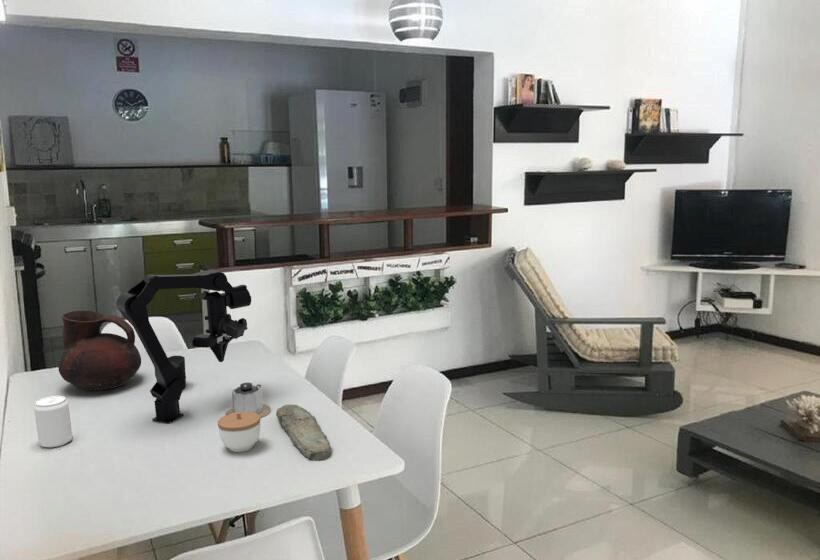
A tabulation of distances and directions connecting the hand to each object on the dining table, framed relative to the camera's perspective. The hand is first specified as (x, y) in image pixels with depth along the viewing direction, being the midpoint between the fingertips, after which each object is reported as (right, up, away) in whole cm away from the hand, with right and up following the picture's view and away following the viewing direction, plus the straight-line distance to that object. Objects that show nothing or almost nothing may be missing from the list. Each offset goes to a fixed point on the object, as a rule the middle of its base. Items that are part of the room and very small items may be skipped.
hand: (221, 361), depth 208 cm
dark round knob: (+10, -11, -7) cm, 16 cm away
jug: (-45, -11, +21) cm, 51 cm away
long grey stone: (+29, -18, -23) cm, 41 cm away
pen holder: (-20, -11, +16) cm, 28 cm away
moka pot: (+10, -14, -6) cm, 18 cm away
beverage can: (-38, -19, -24) cm, 49 cm away
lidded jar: (+13, -19, -30) cm, 38 cm away
